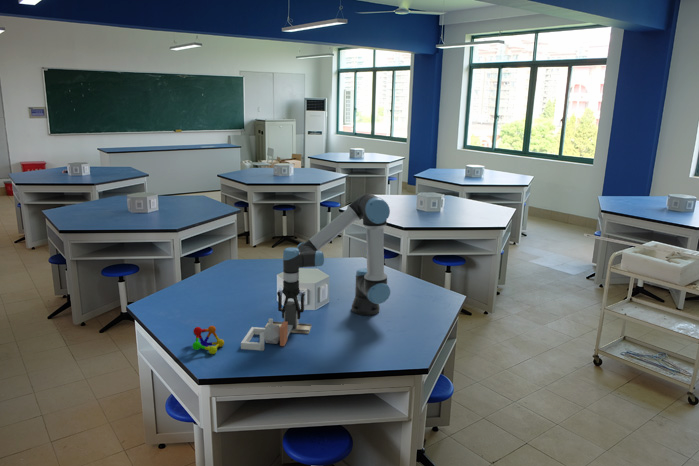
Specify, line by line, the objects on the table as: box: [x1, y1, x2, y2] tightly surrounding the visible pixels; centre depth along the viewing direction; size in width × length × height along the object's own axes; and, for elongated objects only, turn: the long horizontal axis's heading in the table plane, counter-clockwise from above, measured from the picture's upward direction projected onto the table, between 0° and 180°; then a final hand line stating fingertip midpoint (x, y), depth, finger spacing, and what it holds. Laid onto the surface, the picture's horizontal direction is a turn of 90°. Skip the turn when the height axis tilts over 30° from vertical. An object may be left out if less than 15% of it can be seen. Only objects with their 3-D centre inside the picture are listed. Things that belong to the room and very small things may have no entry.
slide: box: [263, 320, 312, 335], centre depth 254 cm, size 22×8×2 cm, turn 84°
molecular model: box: [192, 325, 225, 355], centre depth 230 cm, size 15×10×15 cm
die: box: [263, 324, 280, 345], centre depth 238 cm, size 8×9×10 cm
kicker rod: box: [279, 300, 297, 347], centre depth 244 cm, size 5×22×13 cm, turn 174°
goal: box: [240, 318, 274, 352], centre depth 239 cm, size 10×18×8 cm, turn 174°
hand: (291, 324), depth 253 cm, fingers closed on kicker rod, 5 cm apart
